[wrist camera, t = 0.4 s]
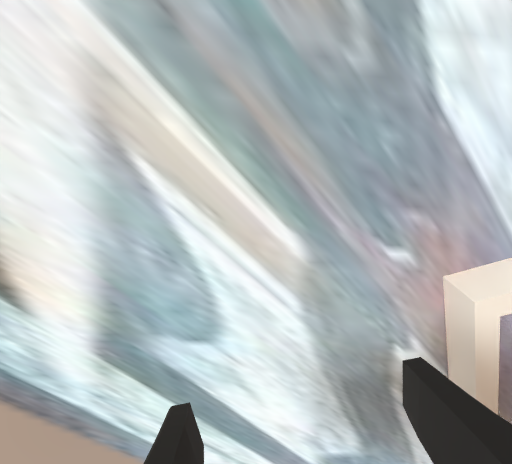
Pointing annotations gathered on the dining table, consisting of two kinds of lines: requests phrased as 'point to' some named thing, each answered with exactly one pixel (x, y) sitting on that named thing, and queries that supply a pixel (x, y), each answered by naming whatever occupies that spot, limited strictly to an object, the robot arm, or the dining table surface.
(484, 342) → the bay
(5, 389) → the dining table surface
